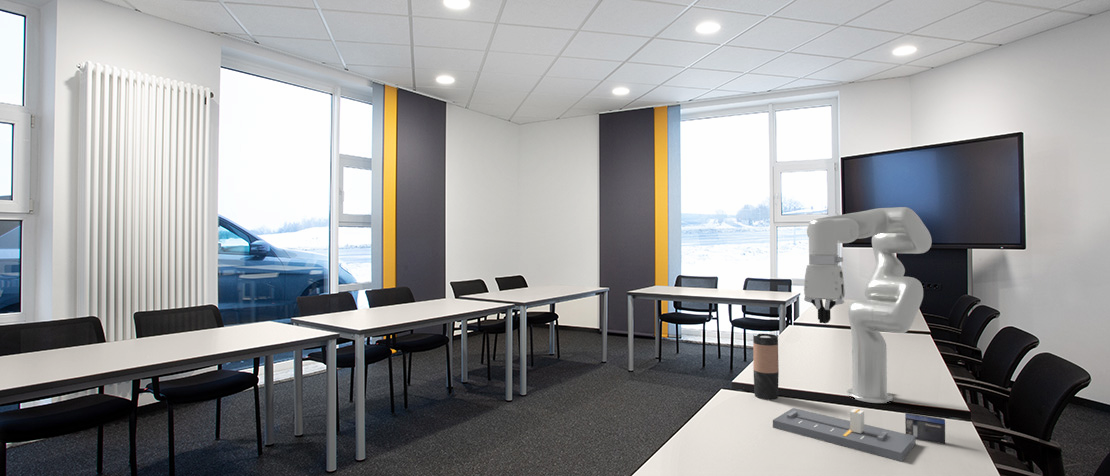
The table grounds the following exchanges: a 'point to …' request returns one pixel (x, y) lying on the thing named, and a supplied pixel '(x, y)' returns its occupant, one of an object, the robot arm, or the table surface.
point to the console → (846, 433)
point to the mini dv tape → (925, 427)
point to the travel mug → (765, 366)
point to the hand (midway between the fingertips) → (824, 322)
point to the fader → (857, 420)
